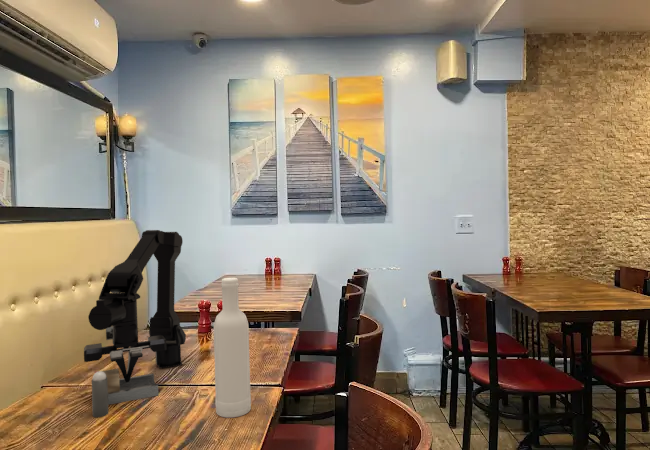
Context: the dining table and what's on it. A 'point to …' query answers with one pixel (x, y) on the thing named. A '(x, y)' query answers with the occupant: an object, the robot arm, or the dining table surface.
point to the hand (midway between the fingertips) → (127, 381)
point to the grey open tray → (134, 389)
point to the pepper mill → (99, 394)
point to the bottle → (231, 355)
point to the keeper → (112, 380)
